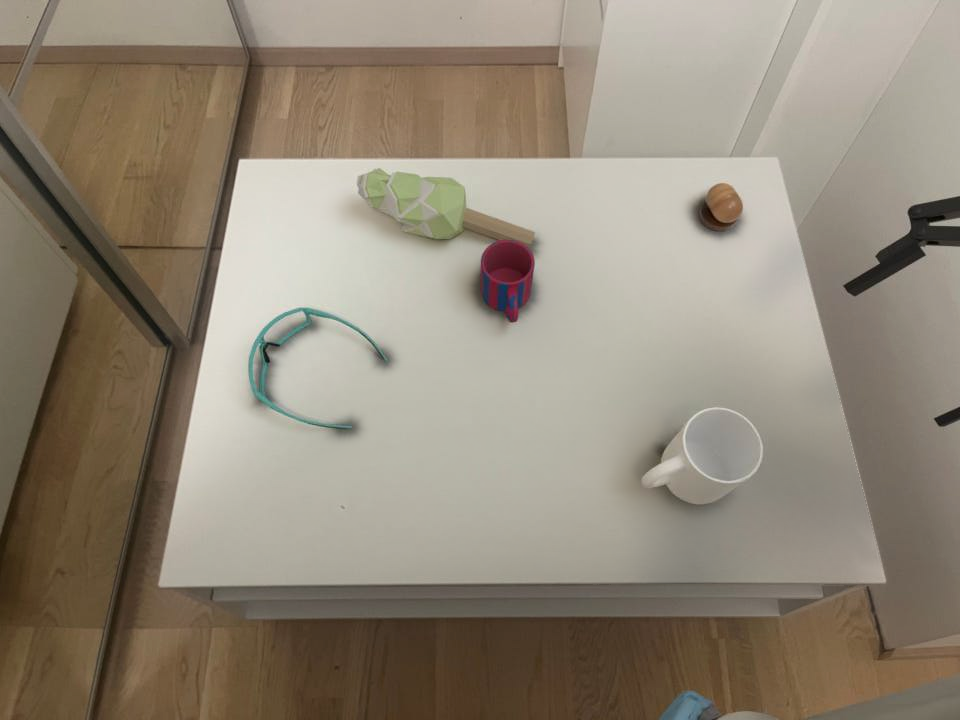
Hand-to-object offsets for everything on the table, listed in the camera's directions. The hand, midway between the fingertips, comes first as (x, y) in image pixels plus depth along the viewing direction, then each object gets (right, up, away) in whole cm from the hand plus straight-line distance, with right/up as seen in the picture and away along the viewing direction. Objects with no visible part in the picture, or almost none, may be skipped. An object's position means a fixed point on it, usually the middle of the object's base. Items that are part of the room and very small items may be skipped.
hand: (891, 354), depth 59 cm
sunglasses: (-57, -2, +25) cm, 62 cm away
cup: (-33, +7, +30) cm, 45 cm away
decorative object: (-41, +18, +35) cm, 57 cm away
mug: (-13, -14, +20) cm, 27 cm away
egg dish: (-3, +20, +35) cm, 41 cm away
